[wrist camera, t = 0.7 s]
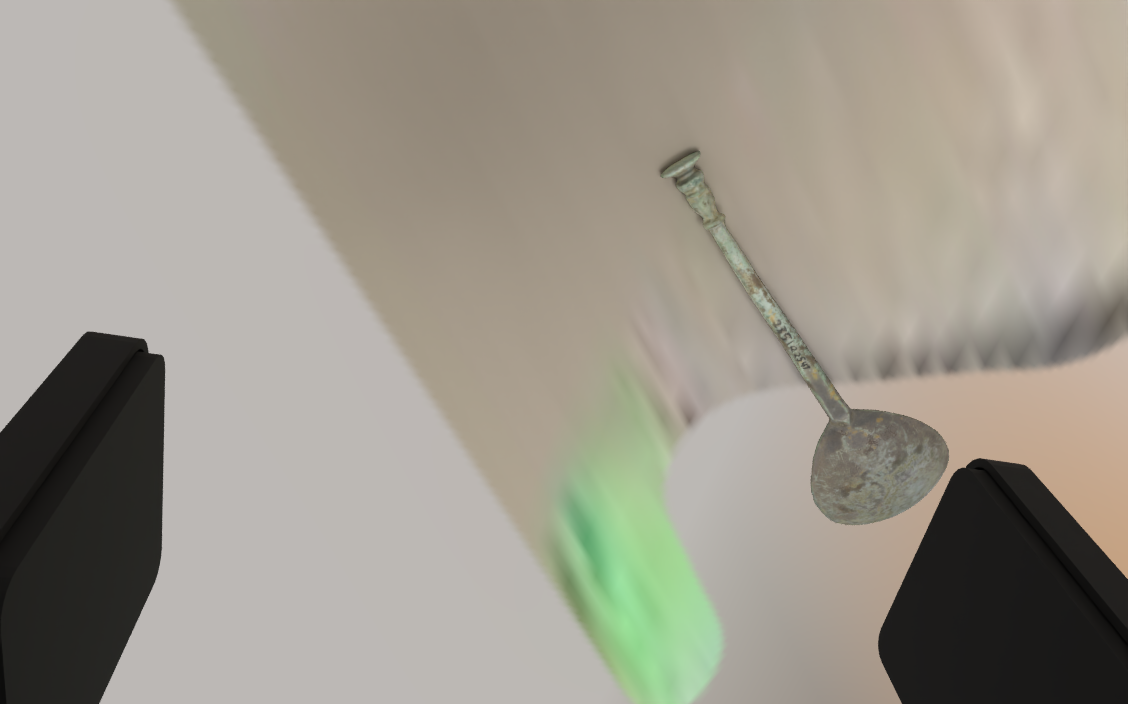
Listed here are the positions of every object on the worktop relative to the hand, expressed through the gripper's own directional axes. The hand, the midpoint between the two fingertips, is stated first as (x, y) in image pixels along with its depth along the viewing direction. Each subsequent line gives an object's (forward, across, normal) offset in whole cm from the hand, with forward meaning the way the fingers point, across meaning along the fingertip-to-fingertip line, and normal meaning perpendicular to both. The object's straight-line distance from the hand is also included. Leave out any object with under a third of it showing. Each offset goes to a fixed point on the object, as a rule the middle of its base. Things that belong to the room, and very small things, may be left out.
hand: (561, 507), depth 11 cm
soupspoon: (+28, -15, +10) cm, 34 cm away
